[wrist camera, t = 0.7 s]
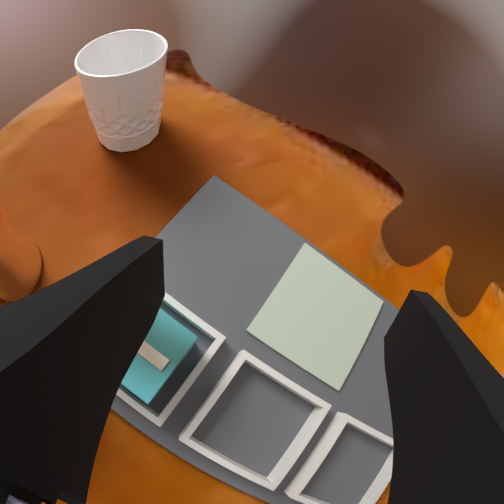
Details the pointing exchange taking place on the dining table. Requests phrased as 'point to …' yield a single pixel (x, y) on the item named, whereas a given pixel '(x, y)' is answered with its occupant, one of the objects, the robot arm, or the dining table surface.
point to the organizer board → (270, 359)
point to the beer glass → (17, 262)
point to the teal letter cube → (158, 357)
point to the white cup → (124, 86)
